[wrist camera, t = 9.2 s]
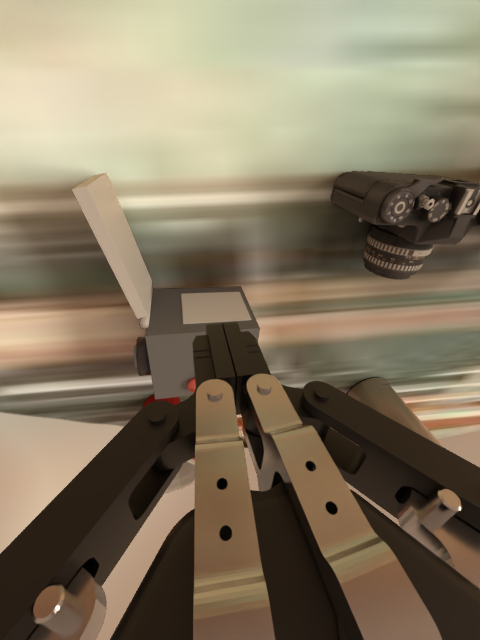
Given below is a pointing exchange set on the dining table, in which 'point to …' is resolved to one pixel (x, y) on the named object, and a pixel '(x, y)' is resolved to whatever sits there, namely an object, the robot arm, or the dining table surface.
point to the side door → (116, 242)
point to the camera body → (185, 333)
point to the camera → (407, 216)
